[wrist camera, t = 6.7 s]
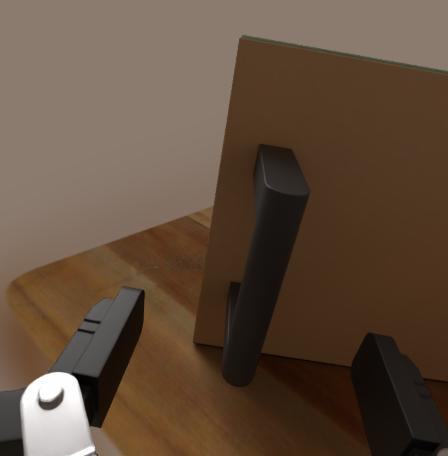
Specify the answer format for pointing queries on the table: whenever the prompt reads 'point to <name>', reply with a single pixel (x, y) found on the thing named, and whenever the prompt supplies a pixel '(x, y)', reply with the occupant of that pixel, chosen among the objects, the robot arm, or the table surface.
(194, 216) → the table surface
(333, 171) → the cupboard door
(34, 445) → the robot arm
